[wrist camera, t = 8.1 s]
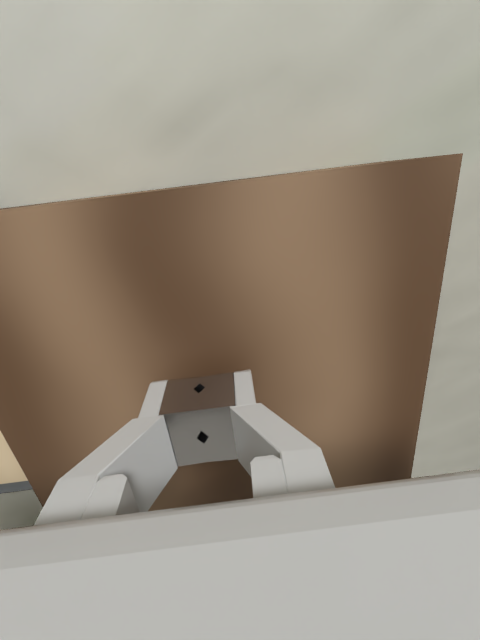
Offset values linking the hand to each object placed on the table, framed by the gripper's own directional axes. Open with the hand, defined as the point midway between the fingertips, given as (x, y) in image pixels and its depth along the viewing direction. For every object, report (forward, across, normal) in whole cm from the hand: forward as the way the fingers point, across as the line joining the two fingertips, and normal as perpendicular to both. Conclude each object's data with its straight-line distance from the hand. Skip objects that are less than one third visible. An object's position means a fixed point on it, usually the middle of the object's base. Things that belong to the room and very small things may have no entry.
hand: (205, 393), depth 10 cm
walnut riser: (+4, 0, 0) cm, 4 cm away
